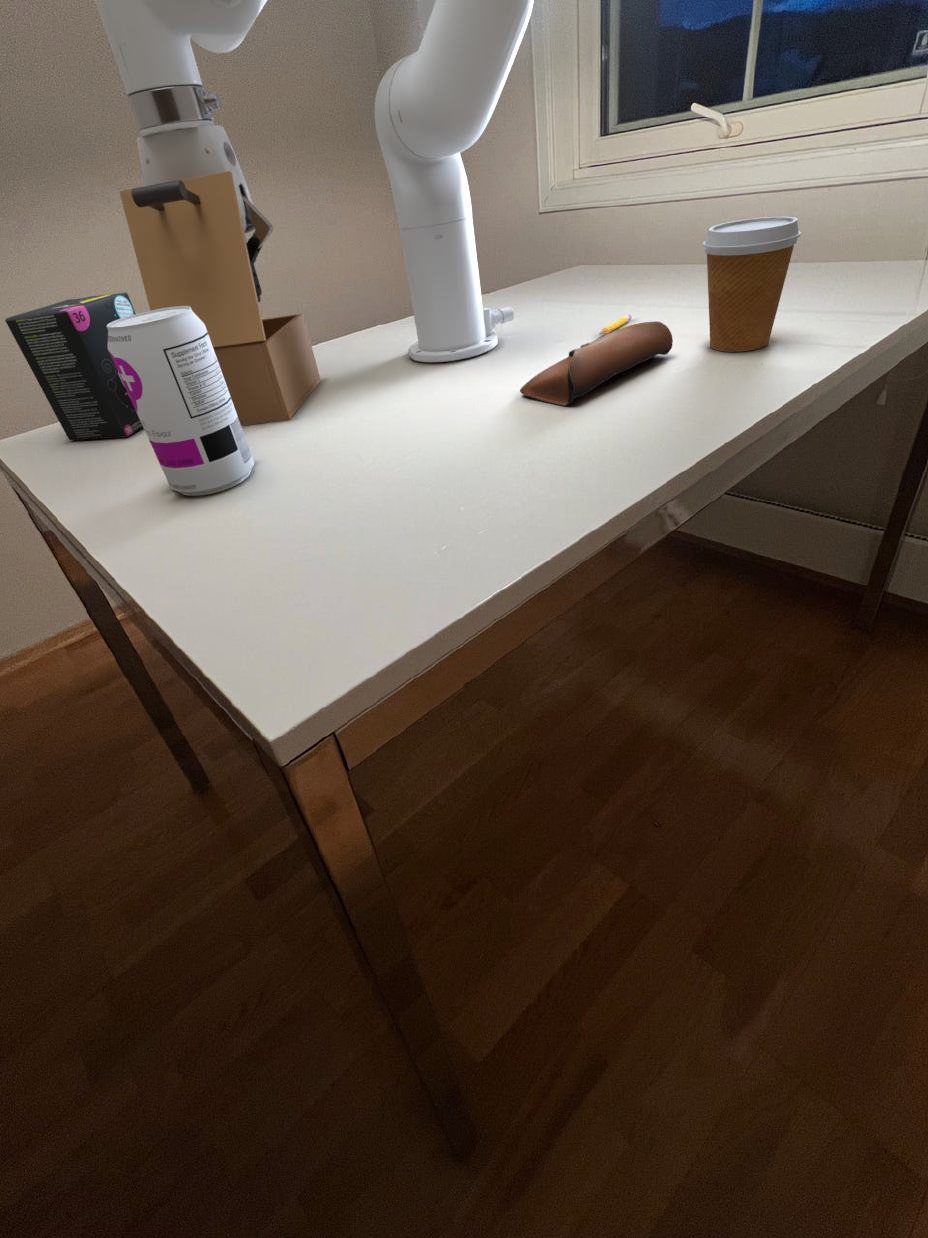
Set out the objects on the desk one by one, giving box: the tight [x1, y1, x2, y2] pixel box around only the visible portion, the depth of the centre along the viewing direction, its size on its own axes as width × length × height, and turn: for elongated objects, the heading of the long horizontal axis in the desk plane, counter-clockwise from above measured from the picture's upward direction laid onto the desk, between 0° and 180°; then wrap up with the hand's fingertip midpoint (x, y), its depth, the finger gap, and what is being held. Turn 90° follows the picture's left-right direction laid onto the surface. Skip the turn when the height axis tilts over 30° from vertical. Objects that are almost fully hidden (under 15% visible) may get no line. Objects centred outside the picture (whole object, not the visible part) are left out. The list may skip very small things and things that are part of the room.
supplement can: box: [107, 306, 255, 497], centre depth 58 cm, size 8×8×15 cm
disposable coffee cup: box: [702, 216, 802, 353], centre depth 70 cm, size 10×10×12 cm
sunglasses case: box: [519, 321, 674, 407], centre depth 70 cm, size 18×7×7 cm, turn 134°
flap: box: [119, 171, 266, 348], centre depth 65 cm, size 16×12×5 cm
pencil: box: [599, 314, 632, 335], centre depth 86 cm, size 1×8×1 cm, turn 142°
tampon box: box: [4, 292, 143, 441], centre depth 79 cm, size 11×9×15 cm
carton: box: [213, 313, 322, 427], centre depth 79 cm, size 15×12×9 cm
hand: (233, 304), depth 76 cm, fingers closed on block, 4 cm apart
